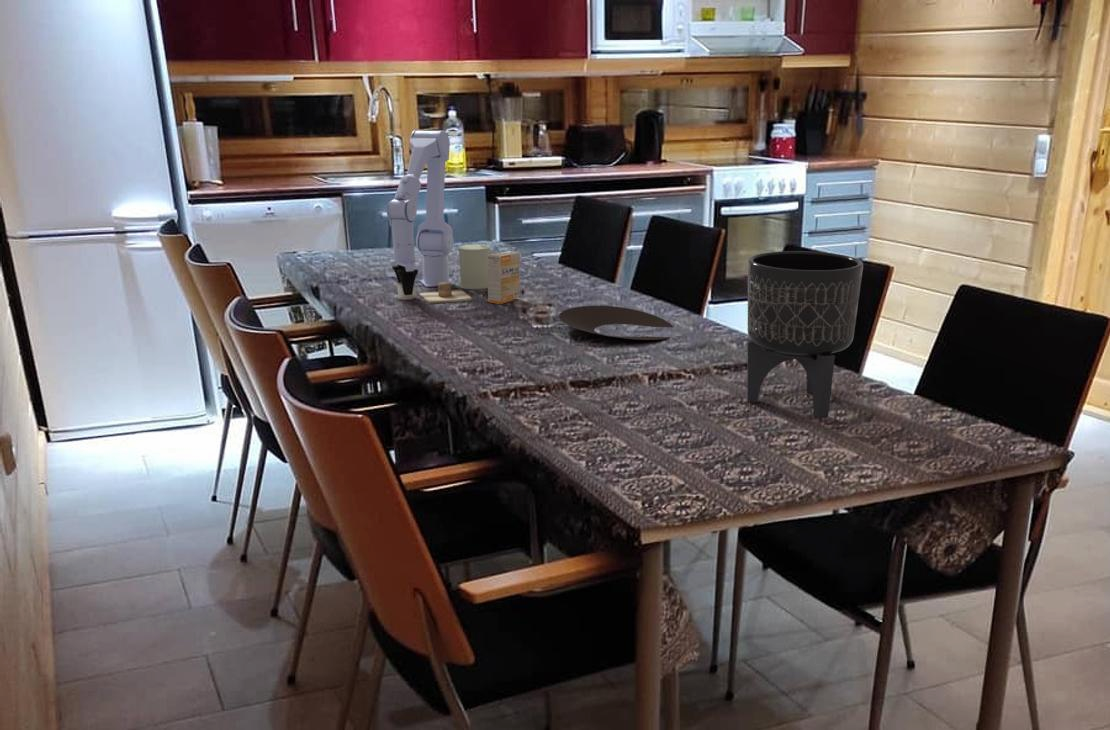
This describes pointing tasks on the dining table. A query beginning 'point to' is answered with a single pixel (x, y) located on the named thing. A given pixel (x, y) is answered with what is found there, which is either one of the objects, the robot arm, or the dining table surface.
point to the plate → (610, 319)
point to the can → (474, 266)
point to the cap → (401, 293)
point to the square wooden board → (445, 295)
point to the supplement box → (503, 277)
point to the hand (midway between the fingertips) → (406, 292)
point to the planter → (800, 316)
